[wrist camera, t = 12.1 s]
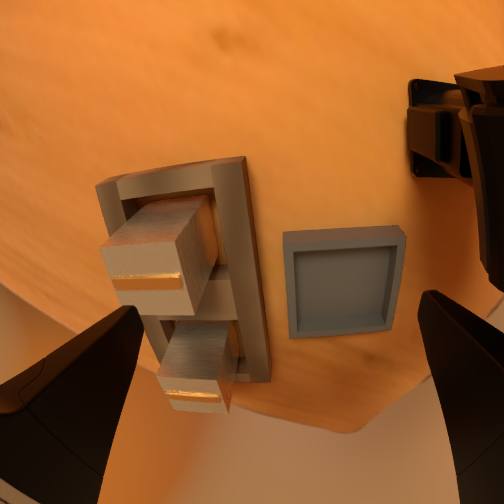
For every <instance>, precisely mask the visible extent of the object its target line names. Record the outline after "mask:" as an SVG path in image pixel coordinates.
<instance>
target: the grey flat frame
mask: <svg viewBox="0 0 504 504" xmlns="http://www.w3.org/2000/svg"><path fill="white" fill-rule="evenodd" d="M211 187H214V192H215V198H216V204H217V210H218V215H219V221H220V227H221V232H222V238H223V244H224V249H225V255H226V260H227V265H214V266H213V269H212V271H211V274H210V277H209V279H208V282H207V284H206V287H205V290H204V292H203V295H202V297H201V300H200V303H199V305H198V308H197V311H196V313H195V315H140V317H141V319H142V322H143V325H144V330H145V333H146V335H147V337H148V339H149V342H150V344H151V346H152V348H153V350H154V353H155V355H156V357H157V359H158V361H159V363H160V365H161V362H162V360H163V357H164V355H165V352H166V350H167V347H168V345H169V343H170V340H171V338H172V335H173V333H174V331H175V327H174V324H173V321H172V320H238V323H239V328H240V333H241V338H242V343H243V348H244V353H245V357H238V363H237V368H236V374H235V380H234V382H271V368H272V365H271V357H270V348H269V340H268V332H267V324H266V316H265V308H264V300H263V292H262V284H261V276H260V268H259V260H258V252H257V244H256V236H255V228H254V220H253V213H252V205H251V197H250V189H249V181H248V174H247V166H246V158H245V156H240V157H231V158H223V159H215V160H208V161H200V162H193V163H187V164H180V165H174V166H168V167H162V168H156V169H151V170H145V171H140V172H135V173H130V174H125V175H120V176H115V177H110V178H108V179H106V180H104V181H103V182H101V183H99V184H97V185H96V186H95V188H96V192H97V196H98V200H99V203H100V207H101V210H102V214H103V217H104V221H105V224H106V227H107V230H108V234H109V237H111V236H112V235H113V234H114V233H115V232H116V231H117V230H118V229H119V228H120V227H121V226H123V225H124V224H125V223H126V222H127V221H128V220H129V219H130V218H131V217H132V216H134V215H135V214H136V213H137V212H138V211H139V210H138V206H137V202H136V198H137V197H143V196H150V195H157V194H164V193H171V192H179V191H186V190H194V189H202V188H211Z"/></svg>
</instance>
